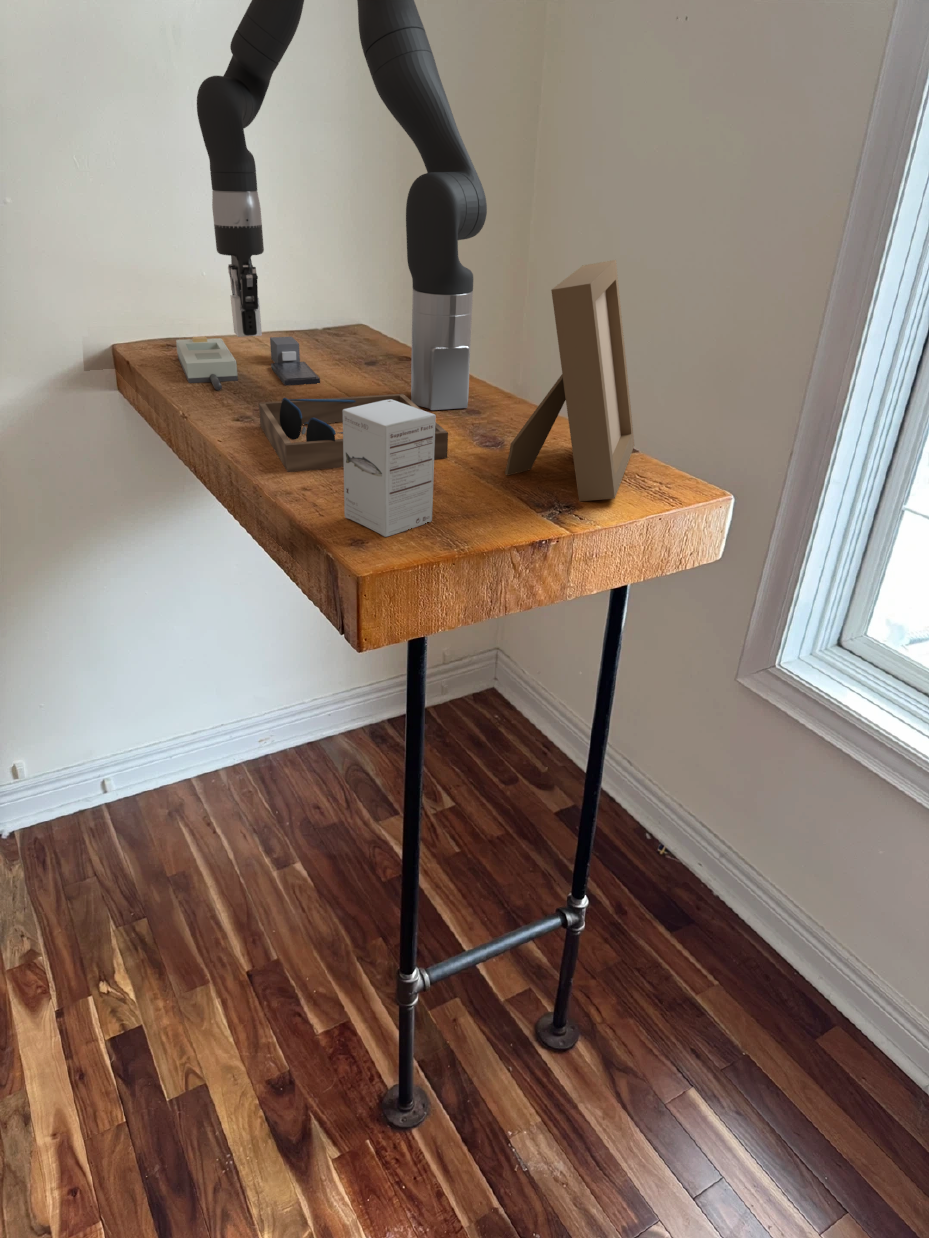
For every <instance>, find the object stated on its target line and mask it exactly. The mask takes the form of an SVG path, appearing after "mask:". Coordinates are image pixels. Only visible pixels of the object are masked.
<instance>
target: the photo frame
mask: <svg viewBox="0 0 929 1238" xmlns="http://www.w3.org/2000/svg"><path fill="white" fill-rule="evenodd" d="M617 268H618V266H617V260H616V259H612V260H605V261H600V262H595V263H588V264H584V265H581V266H580V267H578V268H577V269H576V270H575V271H573V272H571V274H569V275H568V276H567V277H566V278H564V279H563V280H562V281H561V282H559V283H558V284H557V285H555V286H554V287H552V289H551V290H550V291H551V298H552V305H553V312H554V320H555V328H556V336H557V342H558V351H559V359H560V365H561V375H560V376H559V377H558V379H557V380H556V382H555V383H554V384H553V386H552V387H551V388H550V390H549V391H548V393H546V395H545V396H544V398H543V399H542V401H541V402H540V403H539V404H538V406H537V407H536V409H535V410H534V411H533V413H532V414H531V416H530V417H529V418H528V420H526V422H525V424H524V425H523V426H522V428H521V429H520V431H518V433H517V435H516V436H515V437H514V438H513V440H512V441H511V443H510V448H509V452H508V458H507V460H506V461H507V463H506V467H505V472H504V475H505V476H510V475H515V474H519V473H522V472H526V471H529V470H530V471H531V469H532V468H533V466H534V464H535V463H536V459H538V456H539V455H540V452H541V451H542V448H543V447H544V444H545V442H546V441H547V438H548V436H549V434H550V431H551V430H552V429H553V426H554V424H555V422H556V420H557V419H558V416H559V414H560V411H561V410H562V408H563V406H564V405H566V413H567V418H568V419H567V420H568V426H569V427H568V428H569V435H570V443H571V450H572V457H573V464H574V471H575V472H574V473H575V480H576V487H577V488H576V490H577V495H578V502H585V501H587V502H588V501H601V500H610V499H611V500H612V499H613V500H614V499H616V496H617V494H618V490H619V488H620V485H621V483H622V480H623V477H624V476H625V472H626V469H627V467H628V465H629V462H630V458H631V456H632V453H633V450H634V447H635V435H634V427H633V426H634V425H633V418H632V415H633V414H632V405H631V398H630V396H631V395H630V388H629V387H630V386H629V378H628V377H629V376H628V367H627V355H626V347H625V337H624V328H623V326H624V325H623V316H622V308H621V306H622V305H621V296H620V289H619V288H620V287H619V280H618V279H619V277H618V276H619V275H618V269H617Z"/></svg>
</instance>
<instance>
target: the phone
mask: <svg viewBox="0 0 929 1238" xmlns="http://www.w3.org/2000/svg"><path fill="white" fill-rule="evenodd" d="M271 368H272V369H271ZM270 369H271V370H272V371H273V372H274V374H275V375H276V376H277V378H278V379H279V380H280V381H281V383H282V384H283V385H284V386H287V387H288V386H298V385H299V386H303V385H304V384H306V385H318V384H317V383H320V384H321V378H320V377H319V375H318V374H317V373H316V372H315V371H314V370H313V369H312V368H311V367H310V366H309V365H308V363H306V362H305V361H300V362H287V363H275V362H271V363H270Z"/></svg>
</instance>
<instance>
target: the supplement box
mask: <svg viewBox="0 0 929 1238" xmlns="http://www.w3.org/2000/svg"><path fill="white" fill-rule="evenodd" d="M420 409H421V408H420ZM420 409H417V408H415V407H412V406H409V405H406V404H403V403H400V402H398V401H395V400H392V399H389V400H383V401H378V402H374V403H369V404H365V405H360V406H356V407H351V408H347V409H343V411H342V412H343V422H342V432H343V434H342V439H343V458H344V467H343V499H344V501H343V502H344V503H343V504H344V505H343V506H344V507H343V509H344V510H343V511H344V518H345V519H348V520H351V521H353V522H355V523H357V524H359V525H361V526H364V527H366V528H368V529H369V530H372V531H374V532H376V533H378V534H380V535H381V536H382V537H384V538H388V537H390V536H393V535H397V534H399V533H403V532H406V531H408V529H409V530H411V528H412V529H414V528H417V527H418V528H419V527H420V526H423V525H426V524H428V523H427V522H429V523H431V522H432V521H433V503H434V502H433V499H434V497H433V496H434V479H435V478H434V475H435V473H434V472H435V471H434V470H435V469H434V467H435V459H434V447H435V422H436V419H437V417H436V414H434V413H431V412H429V411H425V410H423V409H421V410H420ZM425 523H426V524H425Z"/></svg>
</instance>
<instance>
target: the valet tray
mask: <svg viewBox="0 0 929 1238" xmlns="http://www.w3.org/2000/svg"><path fill="white" fill-rule="evenodd" d="M325 399H339V400H354V401H356V402H313V401H291V402H292V403H293V404H294V405H296V406H297V407H298V408H299V409H300V411H301V414H302V419H301V420H302V424H304V423H305V422H307V423H308V421H309V420H310V419H311V418H316V419H318V420H321V421H323V422H325V423H328V424H336V423H335V422H342V423H343V412H342V411H343V409H347V408H351V407H356V406H360V405H365V404H369V403H374V402H378V401H383V400H389V399H392V400H395V401H398V402H400V403H403V404H406V405H409V406H412V407H415V408H417V409H420V410H422V409H421V408H420V406H418V405H415V404H414V403H413V402H412V401H411V398H409V397H408V396H407V395H405V394H404V393H393V394H377V395H376V394H375V395H363V396H362V395H360V396H346V397H345V396H344V397H343V396H342V397H331V398H330V397H329V398H325ZM281 403H282V400H280V401H278V400H277V401H264V402H258V411H259V425H260V428H261V430H262V432H263V433H264V435H265V437H266V438H267V441H269V443H270V445H271V447H272V448H273V450H274V451H275V453H276V455H277V457H278V458H279V460H280V462H281V463H282V465H283V467H284V468H285V470H286V472H287V473H290V472H293V473H294V472H302V471H303V472H304V471H313V470H315V471H316V470H325V469H337V468H344V458H343V438H338V439H337V438H335V441H332V440H322V441H309V442H306V441H298V442H291V439H290V438H288V437H287V436H286V434H285V433H284V431H283V430H282V428H281V424H280V407H281ZM312 420H313V419H312ZM309 422H310V421H309ZM307 423H306V424H307ZM448 446H449V432H448V431H446V429H444V428H443V427H442V426H441V425H440V424H438V423H437V421H435V447H434V460H438V459H439V460H441V459H448V452H449V451H448V449H449V448H448Z"/></svg>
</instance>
